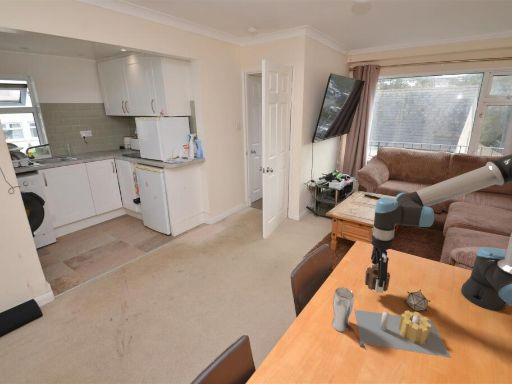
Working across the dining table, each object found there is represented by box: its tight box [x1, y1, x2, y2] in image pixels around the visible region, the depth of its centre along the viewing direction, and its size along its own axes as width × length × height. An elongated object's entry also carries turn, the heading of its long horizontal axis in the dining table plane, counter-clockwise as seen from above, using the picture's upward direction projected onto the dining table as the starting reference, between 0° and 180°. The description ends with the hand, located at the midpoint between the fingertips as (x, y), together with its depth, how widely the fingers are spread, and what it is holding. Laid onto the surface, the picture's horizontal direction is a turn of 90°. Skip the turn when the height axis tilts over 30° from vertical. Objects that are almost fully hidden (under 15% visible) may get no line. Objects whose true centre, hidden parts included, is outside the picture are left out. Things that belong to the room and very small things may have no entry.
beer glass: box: [331, 286, 355, 333], centre depth 98 cm, size 7×7×15 cm
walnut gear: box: [364, 266, 391, 292], centre depth 111 cm, size 9×9×6 cm
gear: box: [399, 310, 431, 344], centre depth 94 cm, size 9×9×6 cm
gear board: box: [354, 309, 452, 358], centre depth 95 cm, size 28×16×8 cm, turn 79°
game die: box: [403, 288, 431, 312], centre depth 107 cm, size 9×8×10 cm
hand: (376, 284), depth 112 cm, fingers closed on walnut gear, 9 cm apart
